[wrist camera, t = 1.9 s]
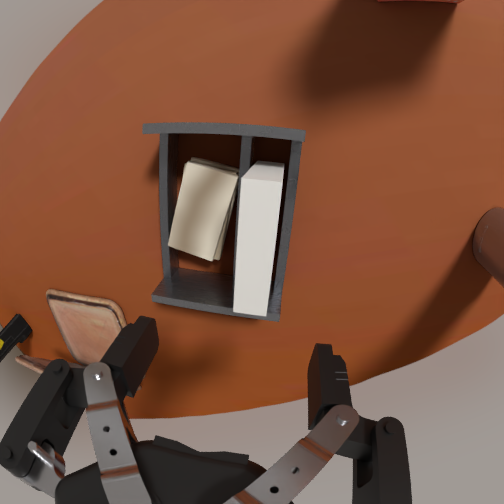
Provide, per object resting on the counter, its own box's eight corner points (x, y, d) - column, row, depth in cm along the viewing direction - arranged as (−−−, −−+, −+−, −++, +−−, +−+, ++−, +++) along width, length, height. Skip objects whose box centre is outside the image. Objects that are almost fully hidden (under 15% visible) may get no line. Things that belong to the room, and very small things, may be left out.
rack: (301, 130, 28) (305, 130, 22) (281, 288, 37) (279, 321, 30) (171, 123, 29) (142, 123, 23) (172, 273, 38) (152, 301, 32)
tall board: (284, 163, 30) (282, 182, 20) (273, 259, 35) (266, 316, 25) (257, 160, 30) (241, 178, 20) (249, 256, 35) (233, 311, 25)
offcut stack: (245, 169, 31) (239, 174, 28) (223, 253, 36) (216, 267, 33) (193, 156, 31) (181, 160, 28) (177, 239, 36) (166, 251, 33)
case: (78, 360, 53) (45, 407, 39) (44, 285, 44) (-5, 332, 30) (150, 380, 51) (122, 441, 37) (122, 298, 42) (70, 365, 28)
